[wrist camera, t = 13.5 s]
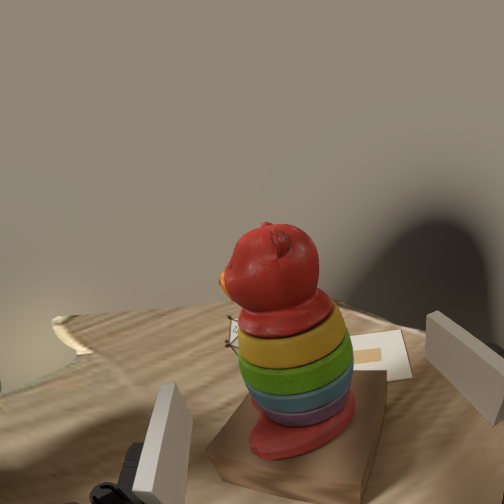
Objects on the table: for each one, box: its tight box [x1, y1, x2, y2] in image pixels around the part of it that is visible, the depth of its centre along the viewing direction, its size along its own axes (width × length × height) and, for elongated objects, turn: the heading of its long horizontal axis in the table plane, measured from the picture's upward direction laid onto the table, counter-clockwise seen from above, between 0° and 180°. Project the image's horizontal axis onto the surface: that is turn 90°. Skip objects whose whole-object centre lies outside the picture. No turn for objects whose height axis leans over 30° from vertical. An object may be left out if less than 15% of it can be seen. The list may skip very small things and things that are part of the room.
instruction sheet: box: [350, 330, 412, 382], centre depth 41 cm, size 16×12×1 cm
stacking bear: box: [219, 222, 355, 460], centre depth 24 cm, size 11×10×18 cm
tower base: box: [205, 370, 387, 504], centre depth 27 cm, size 14×14×6 cm
